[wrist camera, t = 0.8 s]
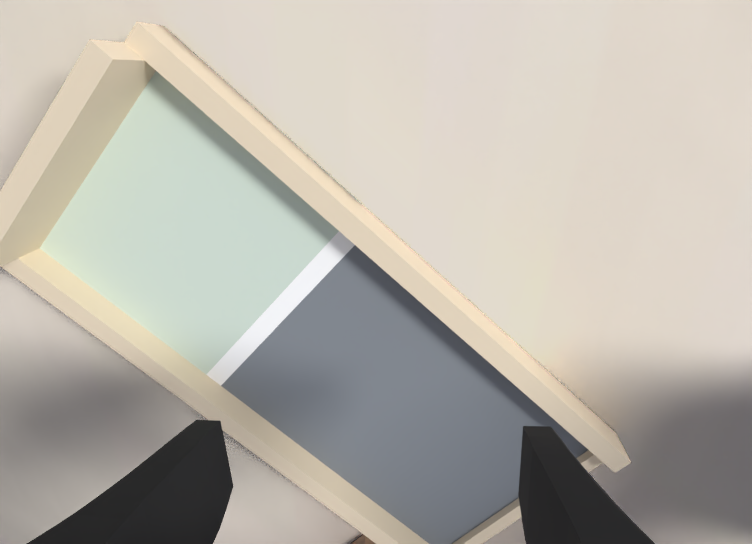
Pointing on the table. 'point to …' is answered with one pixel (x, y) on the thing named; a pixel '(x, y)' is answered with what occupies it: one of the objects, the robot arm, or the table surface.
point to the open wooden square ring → (363, 540)
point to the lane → (276, 300)
